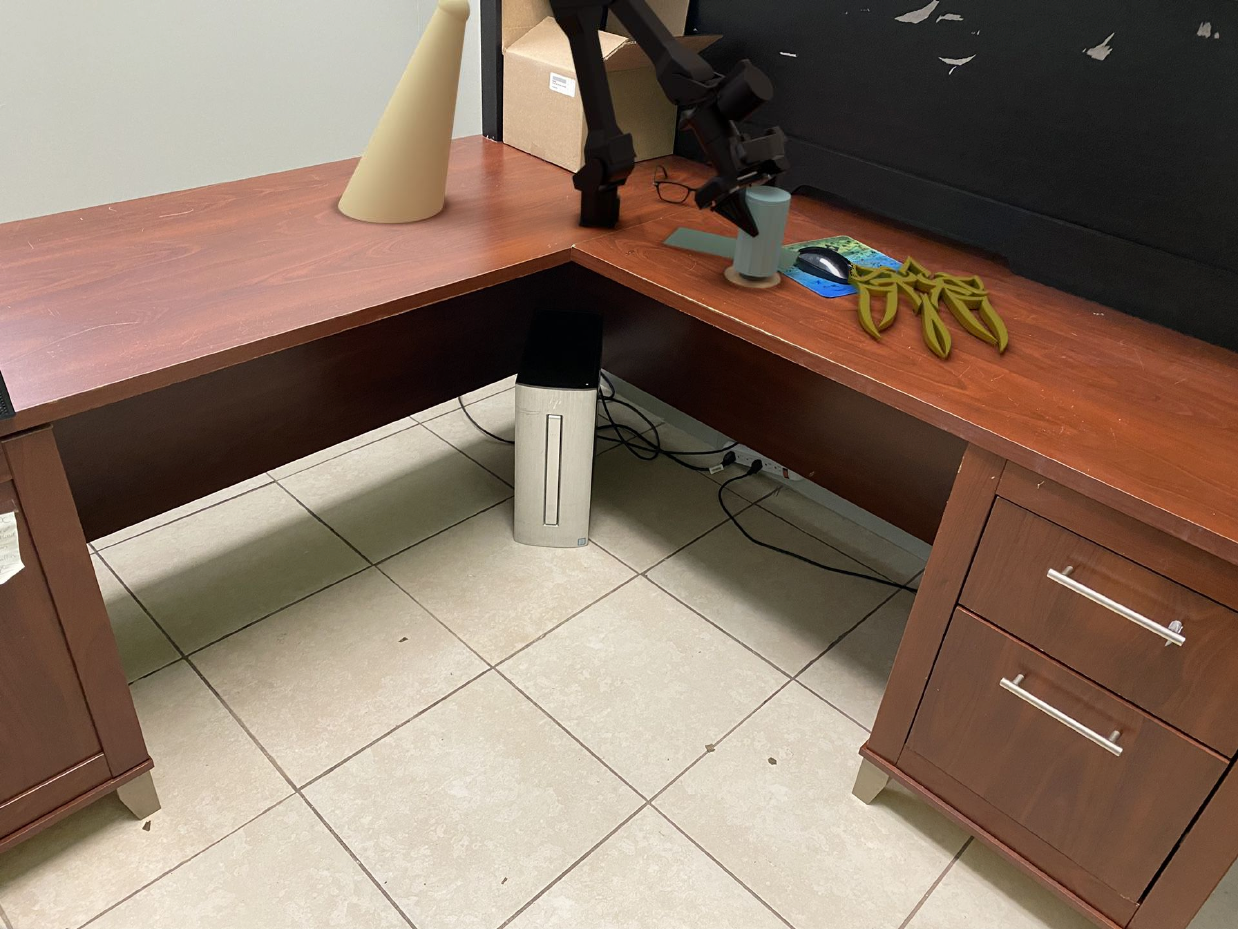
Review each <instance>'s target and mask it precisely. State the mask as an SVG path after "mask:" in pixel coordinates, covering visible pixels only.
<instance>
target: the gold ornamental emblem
mask: <svg viewBox="0 0 1238 929" xmlns="http://www.w3.org/2000/svg"><path fill="white" fill-rule="evenodd" d="M850 263H851V265H853V268H854V269H852V270H851V272H852V273H851V274H852V276H851V274H850V271H849V270H848V278H847V284H849V285H851V286H852V287H853V289H854V290H855V292H856V294H857V298H858V299H857V300H858V302H857V303H858V304H857V317H858V320H859V323H860V324H861V326H862V328H863V329H864V330H865V332H866V333H867V334H869V335H871V336H873V337H874V338H876V339H877V340H879V341H883V337H882V336H881V335H880V333H879V332H880V331H883V330H885V329H886V328H888V327H890V326H891V325H892V324H893V322H894V320H895V317H896V313H897V309H898V300H899V298H898V293H899V294H900V295H902V297H904V299H905V300H907V302H908V303H909V304H910V305H911V306H912V308H913V309H912V310H913V312H914V315H915V316H917V315H918V314H919V312H920V315H921V328H922V335H923V339H924V342H925V344H926V345H927V346H928V348H929V349H930V350H931V351H932V352H933V353H934V354H936V355H937V356H939V357H940V358H943V359H947V357H948V356H949V353H950V350H951V346H952V338H951V337H952V336H951V334H950V332H949V330H948V328H947V326H946V325H945V323H944V321H942V319H941V317H940V315H938V313H939V310H940V307H939V302H938V300H939V298H940V297H941V299H942V301H943V303H944V304H945V306H946V307H947V309H948V310H949V311H950V312H951V314H952V315H953V317H954V318H955V319H956V320H957V321H958V322H959V324H960V325H961V326H962V327H963V328H964V329H965V330H966V331H967V332H969V333H971V334H972V335H974V336H975V337H976V338H979V339H981V340H983V341H985V342H987V343H989V344H991V345H994V346H996V345H997V344H998V347H999V353H998V354H1001V353H1003V352H1004V351H1005V349H1006V347H1007V345H1008V342H1009V333H1008V330H1007V328H1006V325H1005V324H1004V322H1003V320H1002V318H1001V317H1000V316H999V314H998V313H997V311H995V310H994V308H993V307H992V305H991V304H990V302H989V300H988V297H989V296H990V292H991V291H990V290H984V289H985V285H984V283H983V280H982V279H981V278H980V277H979V276H978V275H977V274H975V275H974V276H971V277H966V276H964V277H963V276H954V275H952V274H950V273H947V272H944V271H939V272H935V273H934V274H933V277H932V280H931V276H932V272H931V271H930V270H928V269H926V268H925V267H923V266H922V265H921V264H919V263H918V262H917V261H915V260H914V259H913V258H912V257H911V256H910V255H909V254H908V255H907V257H906V260H905V261H904V263H903V264H902V265H900V267H898V268H897V269H895V268H893V267H891V266H888V265H881V266H878V267H871V266H865V265H864V266H863V265H859V264H857V263H855V262H854V261H850ZM856 268H857V270H856ZM914 289H916V290H919V292H918V294H916V292H915V290H914ZM921 292H923V293H924V294H923V293H921ZM871 297H876V298H885V299H884V300H885V309H884V317H883V319H882V321H881V322H880V324H879V325H878V327H877V328H876V326H875V324H874V322H873V319H872V314H871V308H870V307H871V306H870V305H871V304H870V303H871ZM970 310H978V315H979V317H980V319H981V320H982V321H983V322H984V323H985V325H986V326H987V328H989V330H990V331H991V333H992V334H991V333H990V332H988V330H987V329H986V328H985V327H984V326H983V325H982V324H981V323H980V322H979V321H978V320H977V318H976V317H975V316H974V315H973V313H971V311H970ZM941 348H942V349H941Z"/></svg>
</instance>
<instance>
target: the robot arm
mask: <svg viewBox="0 0 1238 929" xmlns="http://www.w3.org/2000/svg"><path fill="white" fill-rule="evenodd" d="M548 4H549V7H550V9H551V13H552V15H553V19H554V21H555V23H556V24H557V25H558V27H559V28H560V30H561V31H562V33H563V34H564V36H566V37H567V39H568V44H569V48H570V49H569V50H570V53H571V58H572V62H573V67H574V72H575V76H576V81H577V87H578V91H579V95H580V100H581V106H582V109H583V114H584V118H585V122H586V127H587V135H586V139H585V143H584V147H583V157H584V158H583V159H584V165H583V166H582V167H581V168H579V169H578V171H576V172H575V173H574V174H573V175H572V176H571V180H572V184H573V189H574V190H576V191H579V192H581V193H580V210H579V211H580V215H579V220H578V227H579V226H580V227H588V228H590V227H591V228H601V229H616V227H617V226H616V225H617V223H619V222H620V213H621V212H620V211H621V198H622V197H621V194H619V193H618V192H619V188H620V187H623V186H625V185H626V184H627V180H628V178H629V177H630V176H631V175H632V173H633V171H634V169H635V167H636V160H635V159H636V158H637V157H638V155H637V153H636V150H635V148H634V137H633V135H632V133H631V132H626V133H624V132H623V131H622V129H621V128H620V127H619V125H618V123H617V118H616V114H615V109H614V104H613V99H612V94H611V89H610V84H609V79H608V75H607V70H606V65H605V64H606V63H605V60H604V55H603V49H602V45H601V44H602V43H601V38H600V34H599V29H600V26H601V25H600V24H601V20H602V17H603V16H602V15H603V11H604V10H603V8H604V7H603V6H606V7H608V9H609V10H610V11H611V13H612V14H613V16H615V18H616V19H617V20H618V22H619V23H620V24H621V26H622V27H623V28H624V29H625V30H626V32H627V33H628V34H629V36H630V37H631V39H633V41H634V42H635V43H636V44H637V46H638V47H639V48H640V49H641V51H642V52H643V53H644V54H645V56H646V57H647V58H648V59H649V61H650V62H651V64H652V66H653V67H654V72H655V78H656V82H657V84H658V86H659V87H660V89H661V90H662V92H663V94H664V96H665V97H666V99H667V101H668V102H669V103H670V104H671V105H674V106H678V107H679V106H681V107H683V106H687V105H691V104H695V103H698V102H700V103H699V104H697V105H696V106H695V107H694V108H693V109H687V110H684V111H681V113H680V120H679V123H678V126H677V130H678V132H679V131H680V132H682V131H685V130H690V129H692V130H693V132H694V134H695V136H696V138H697V140H698V142H699V144H700V146H701V148H702V149H703V151H704V153H705V156H704V157H702V162H703V163H704V165H705V166H706V165H708V164H711V165H712V168H713V170H714V171H715V173H716V175H714V176H713V177H711V178H710V179H709V180H707V182H705V183H704V184H702V185H701V186H700V187H698V188H699V189H698V190H696V191H695V192H694V197H693V201H694V202H695V205H696V206H697V208H698V210H699V211H703V210H706V209H708V208H709V211H710V212H711V213H713V212H714V213H716V214H718V215H719V216H721V217H722V218H724V219H726V220H727V221H729V222H730V223H732V224H733V225H735V226H736V227H737V228H738V229H739V228H740V229H742V230H743V231H745V232H746V233H747V234H749V235H750V236H752V237H753V238H754V237H756V236H758V235H759V231H758V229H757V226H756V223H755V221H754V219H753V217H752V214H751V212H750V210H749V208H748V205H747V203H746V200H745V198H746V189H747V188H748V187H752V186H769V187H775V188H779V189H780V185H781V182H782V179H783V177H785V174H786V173H785V172H786V171H787V170H789V169H790V168H791V165H790V163H789V161H788V159H787V157H786V156H785V154H786V152H785V146H786V145H787V143H788V141H789V140H788V139H789V138H788V137H787V136H785V133H784V131H783V130H782V129H781V127H780V126H779V125H776V126H773V127H769V128H766V129H764V131H763V136H762V137H758V138H755V139H751V137H750V136H749V134H748V133H746V132H742V133H739V131H738V129H737V127H736V125H735V124H734V122H736V123H743V122H745V121H746V120H747V119H748V118H750V117H751V116H752V115H753V114H754V113H755V112H757V111H758V110H759V109H761V108H762V107H763V106H764V105H766V104H767V103H768V102H770V101H771V100H772V98H773V97H774V89H773V88H774V87H773V85H772V82H771V81H770V78H769V77H768V75H765V73H764V72H763V71H761V69H759V68H758V67H756V66H754V65H753V63H751V61H750V59H749V58H748V59H742V60H740V61H738V63H736V64H735V66H734V67H733V68H732V70H731V71H729V73H727V74H726V75H723V74H720V73H719V72H717V71H716V72H715V71H714V69H713V68H712V66H711V65H710V64H709V63H708V62H707V61H706V60H705V59H703V58H702V57H701V56H700V55H699V54H698V53H696V52H695V51H694V50H692V49H690V48H688V47H686V46H684V45H683V44H681V43H680V42H679V41H678V40H677V39H676V38H675V37H674V35H673V34H672V32H671V31H670V30H669V29H668V28H667V26H666V25H665V23H663V22H662V20H661V19H660V18H659V16H658V15H657V13H656V12H655V11H654V10H653V8H651V6H650V5H649V3H648V2H647V1H646V0H548ZM713 96H714V98H712V99H711V100H709V101H706V100H707V99H708V98H709V97H713ZM704 100H705V101H704ZM747 186H748V187H747ZM713 203H714V205H713ZM710 206H713V207H712V208H711V207H710Z"/></svg>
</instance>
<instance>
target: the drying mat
mask: <svg viewBox="0 0 1238 929" xmlns="http://www.w3.org/2000/svg"><path fill="white" fill-rule="evenodd" d="M736 243H737V238H735V237H729V236H725V235H721V234H715V233H712V232H711V233H710V232H705V231H701V230H698V229H697V230H696V229H692V228H687V227H683V226H678V228H677V229H676V230H675V231H674V232H673V233H672V234H670V236H669V237H668V238H666V239H665V240H664V241H663V242H662V244H664V245H668V246H673V247H677V248H681V249H686V250H690V251H695V252H699V253H705V254H709V255H714V256H719V257H722V258H727V259H731V260H734V255H735V249H736ZM800 255H801V252H800V251H798V250H797V251H796V250H791V249H787V248H783V247H782V248H781V253H780V258H779V263H778V269H777V270H783V271H788V272H789V271H790V270H791V268H792V267H793V265H794V263H795V262H796V261H797V259H798V258H799V256H800Z"/></svg>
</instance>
